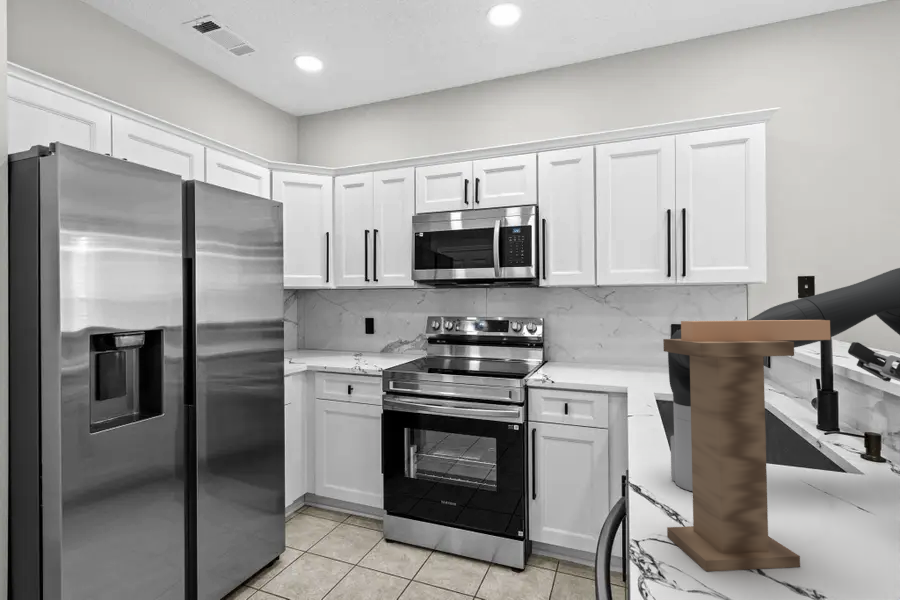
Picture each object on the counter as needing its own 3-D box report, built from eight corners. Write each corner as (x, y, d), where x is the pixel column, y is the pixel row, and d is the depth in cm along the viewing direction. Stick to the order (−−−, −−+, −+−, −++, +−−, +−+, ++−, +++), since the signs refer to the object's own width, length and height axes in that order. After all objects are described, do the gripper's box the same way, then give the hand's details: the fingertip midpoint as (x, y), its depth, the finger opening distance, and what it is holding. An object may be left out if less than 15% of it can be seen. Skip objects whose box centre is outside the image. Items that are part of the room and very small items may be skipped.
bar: (813, 338, 73) (813, 319, 73) (830, 339, 70) (829, 320, 70) (681, 340, 72) (681, 321, 72) (692, 341, 69) (692, 321, 69)
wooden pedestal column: (749, 533, 75) (744, 338, 76) (800, 566, 65) (793, 341, 66) (667, 536, 74) (663, 339, 75) (706, 571, 64) (700, 343, 65)
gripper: (922, 371, 80) (845, 326, 79) (1031, 384, 66) (938, 329, 65) (904, 409, 80) (826, 364, 79) (1009, 430, 65) (916, 376, 65)
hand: (877, 348), depth 72 cm, fingers open, 8 cm apart
